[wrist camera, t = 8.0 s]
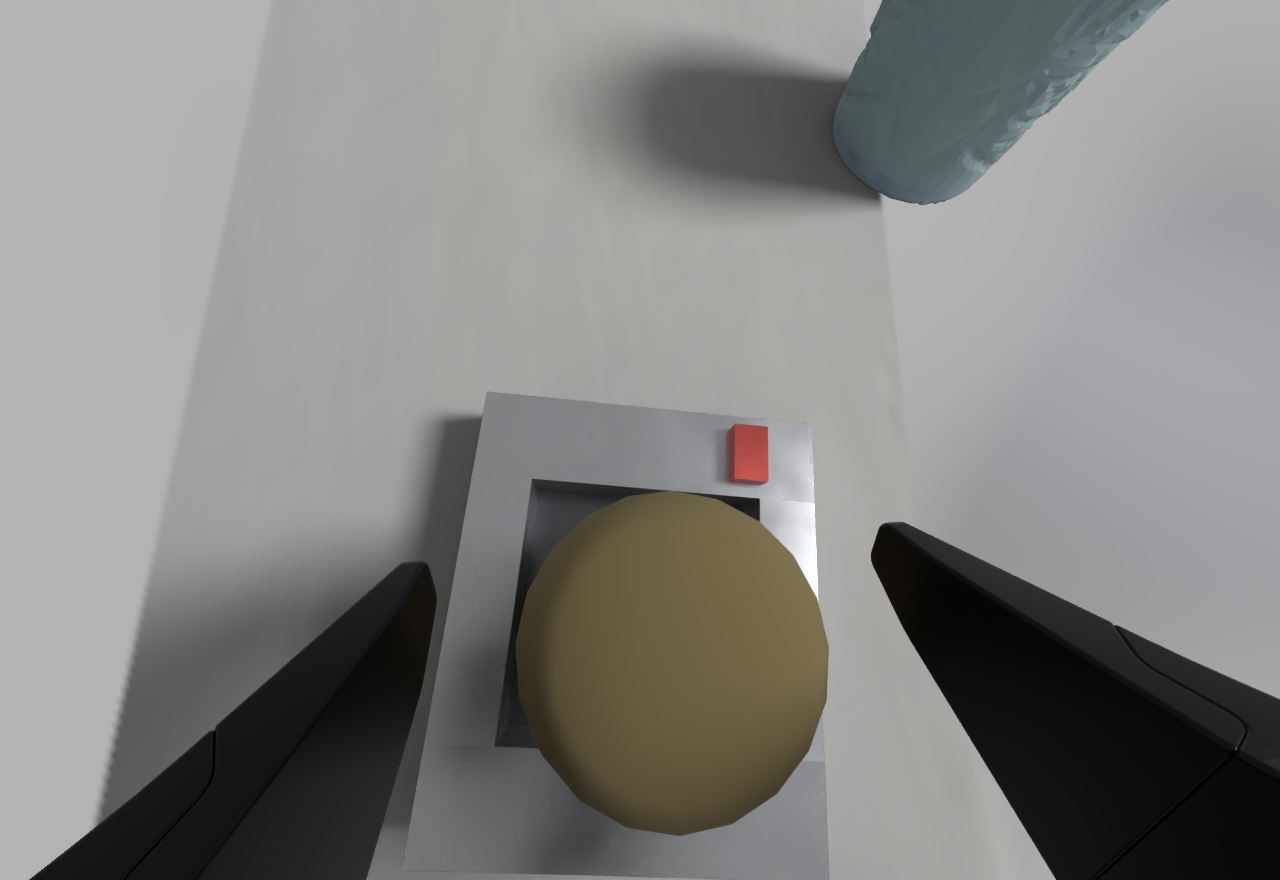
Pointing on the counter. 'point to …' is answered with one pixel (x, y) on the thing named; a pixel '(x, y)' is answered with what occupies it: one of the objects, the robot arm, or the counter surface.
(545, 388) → the counter surface
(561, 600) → the cork
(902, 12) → the teal cup
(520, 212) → the counter surface
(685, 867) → the socket plate
